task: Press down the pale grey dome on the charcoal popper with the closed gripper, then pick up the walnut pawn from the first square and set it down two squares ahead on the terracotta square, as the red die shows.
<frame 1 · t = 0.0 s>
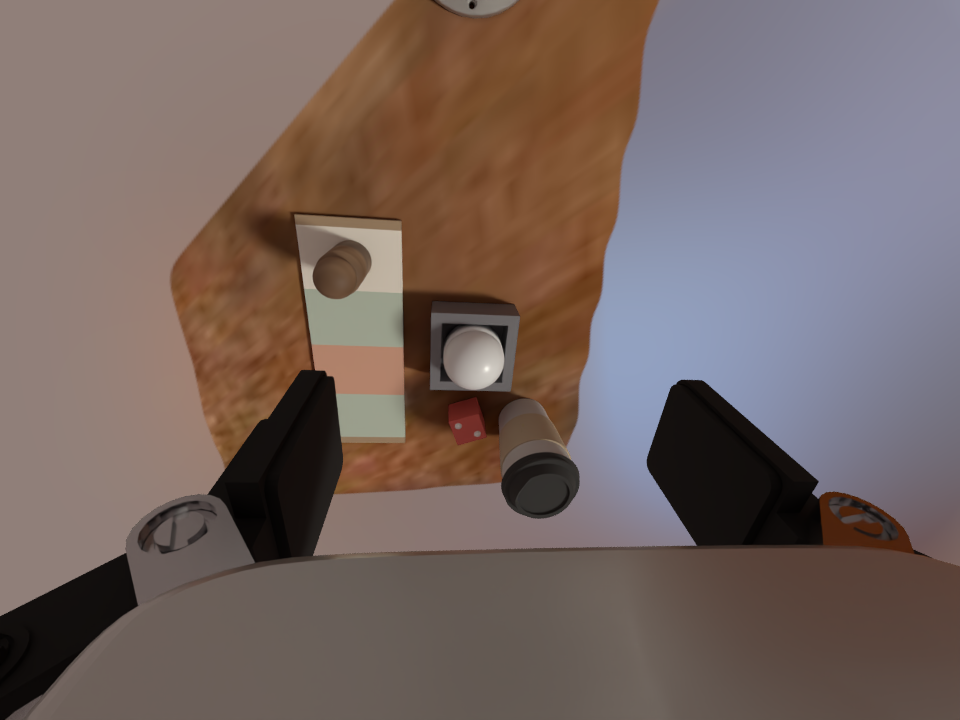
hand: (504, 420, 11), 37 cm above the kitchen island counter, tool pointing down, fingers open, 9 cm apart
game board: (358, 343, 49), on the kitchen island counter
red die: (466, 412, 55), on the kitchen island counter
coffee cup: (521, 418, 57), on the kitchen island counter
walnut pawn: (351, 260, 44), point 1 cm above the kitchen island counter, touching game board
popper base: (471, 340, 50), on the kitchen island counter
dome: (473, 359, 45), point 5 cm above the kitchen island counter, slide at 0.0 cm
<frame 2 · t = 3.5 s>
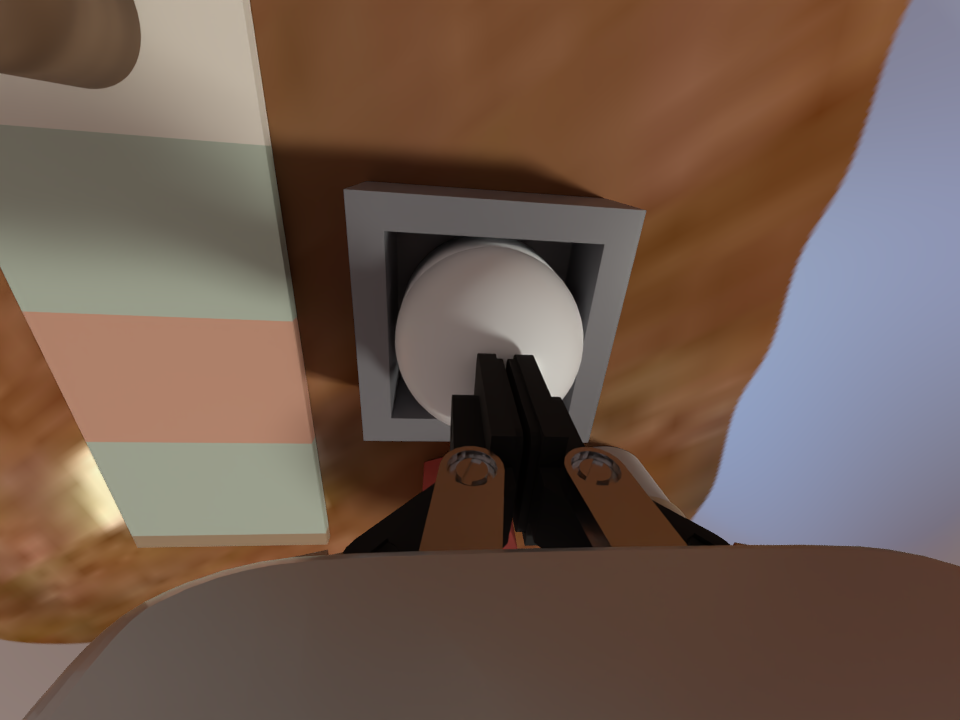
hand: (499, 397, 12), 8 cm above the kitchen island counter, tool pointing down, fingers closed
game board: (170, 311, 18), on the kitchen island counter
red die: (467, 477, 24), on the kitchen island counter
coffee cup: (590, 486, 25), on the kitchen island counter
walnut pawn: (62, 5, 12), point 1 cm above the kitchen island counter, touching game board
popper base: (480, 304, 19), on the kitchen island counter
dome: (488, 341, 15), point 4 cm above the kitchen island counter, slide at 1.1 cm, touching gripper
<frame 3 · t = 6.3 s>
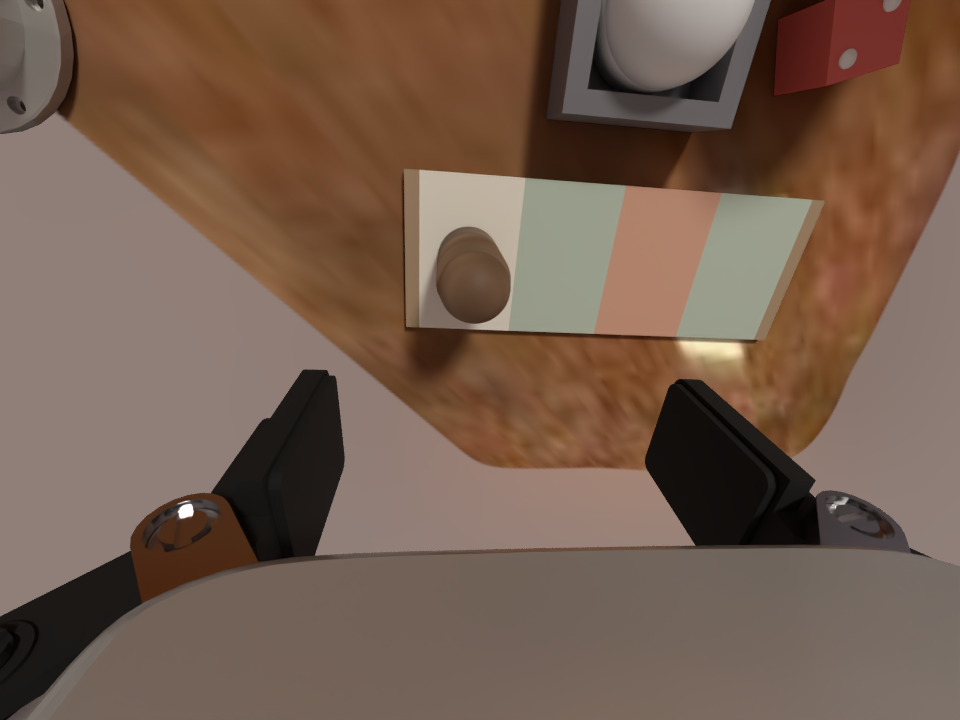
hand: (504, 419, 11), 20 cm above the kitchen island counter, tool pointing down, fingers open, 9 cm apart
game board: (605, 264, 30), on the kitchen island counter
red die: (808, 48, 25), on the kitchen island counter
walnut pawn: (468, 258, 28), point 1 cm above the kitchen island counter, touching game board
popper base: (640, 29, 24), on the kitchen island counter
dome: (675, 5, 20), point 4 cm above the kitchen island counter, slide at 1.2 cm
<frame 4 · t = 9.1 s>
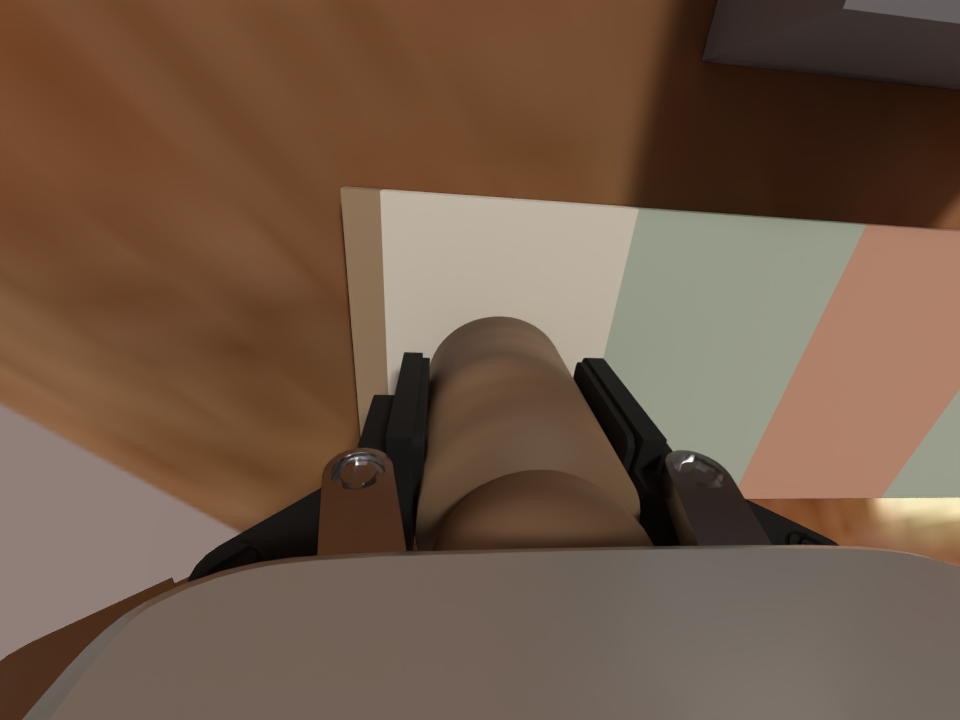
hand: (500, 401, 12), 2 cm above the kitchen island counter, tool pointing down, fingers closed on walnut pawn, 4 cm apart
game board: (774, 377, 15), on the kitchen island counter
walnut pawn: (495, 378, 13), point 1 cm above the kitchen island counter, touching game board, gripper
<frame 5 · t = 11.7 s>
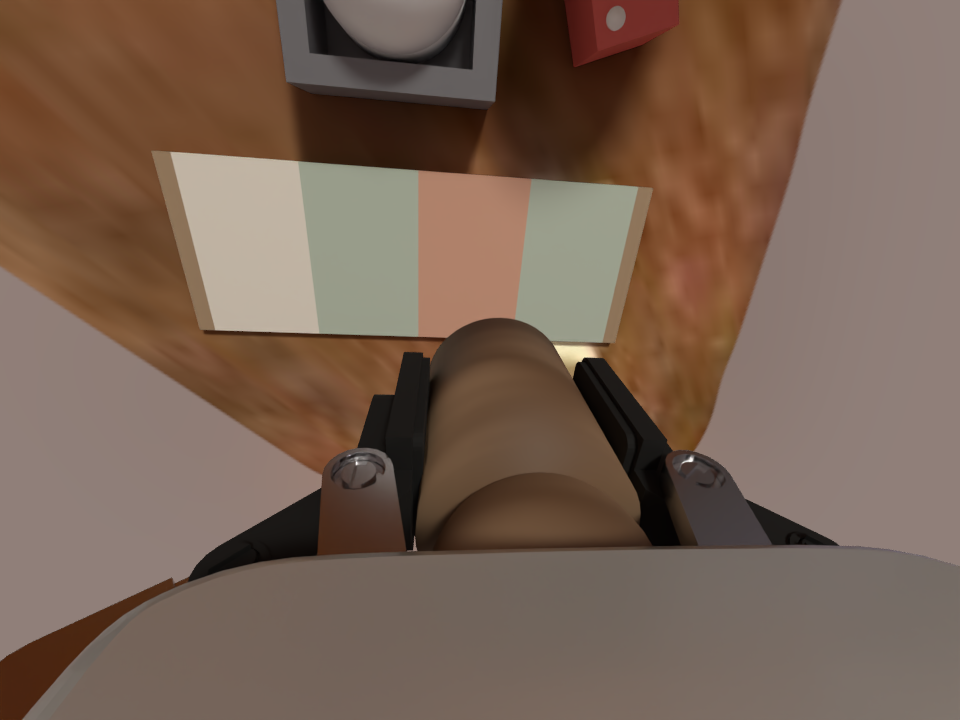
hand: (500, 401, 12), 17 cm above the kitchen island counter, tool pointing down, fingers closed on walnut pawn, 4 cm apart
game board: (418, 259, 27), on the kitchen island counter
red die: (603, 12, 22), on the kitchen island counter
walnut pawn: (495, 380, 13), point 16 cm above the kitchen island counter, touching gripper
when the fingers open (3 cm above the kitchen island counter, at t = 14.6 s): walnut pawn drops 2 cm, resting on game board.
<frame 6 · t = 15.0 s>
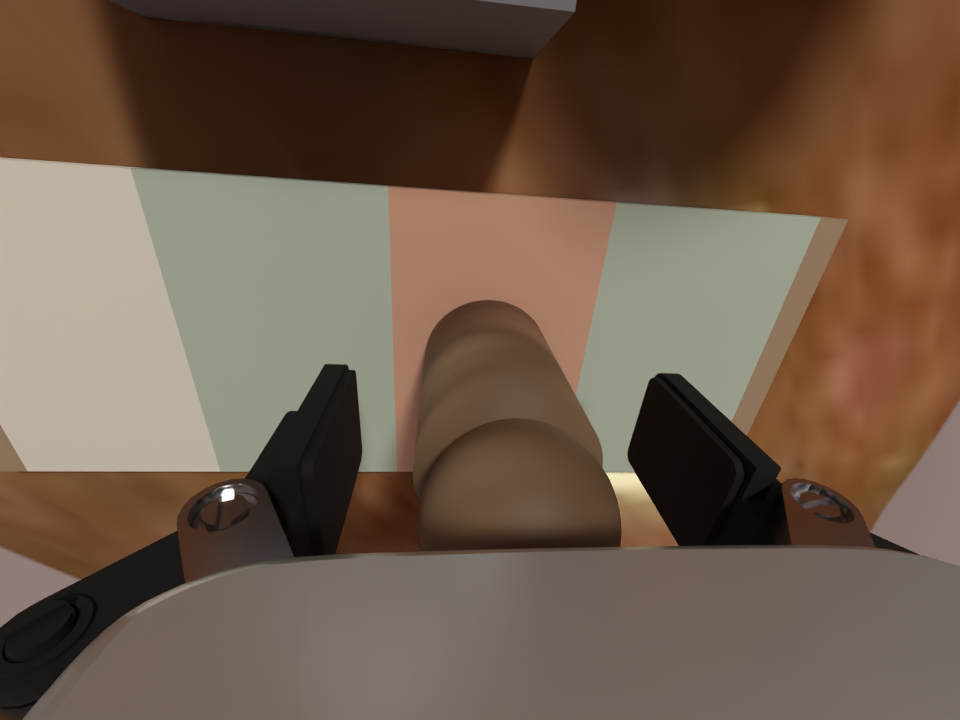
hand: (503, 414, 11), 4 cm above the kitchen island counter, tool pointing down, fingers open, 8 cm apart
game board: (395, 347, 15), on the kitchen island counter
walnut pawn: (485, 357, 14), point 1 cm above the kitchen island counter, touching game board
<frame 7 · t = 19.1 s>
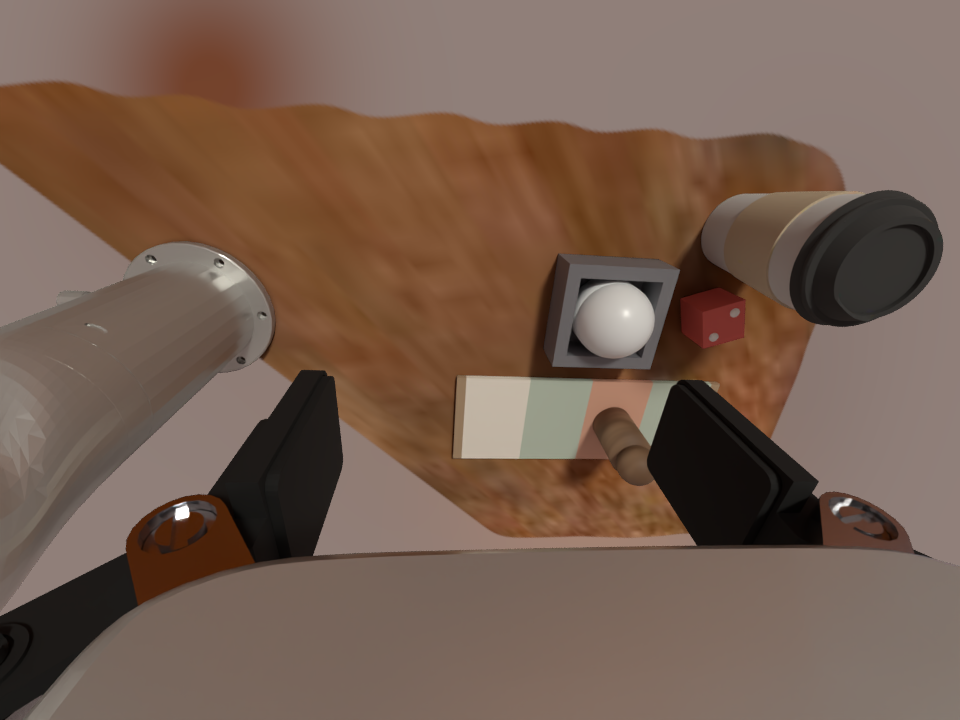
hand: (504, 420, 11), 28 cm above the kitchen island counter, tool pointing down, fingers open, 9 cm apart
game board: (582, 419, 47), on the kitchen island counter
red die: (699, 310, 41), on the kitchen island counter
coffee cup: (735, 231, 38), on the kitchen island counter
walnut pawn: (611, 422, 46), point 1 cm above the kitchen island counter, touching game board
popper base: (598, 306, 40), on the kitchen island counter
dome: (613, 320, 37), point 4 cm above the kitchen island counter, slide at 1.2 cm
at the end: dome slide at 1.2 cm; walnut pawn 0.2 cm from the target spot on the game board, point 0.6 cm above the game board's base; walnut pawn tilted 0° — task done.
